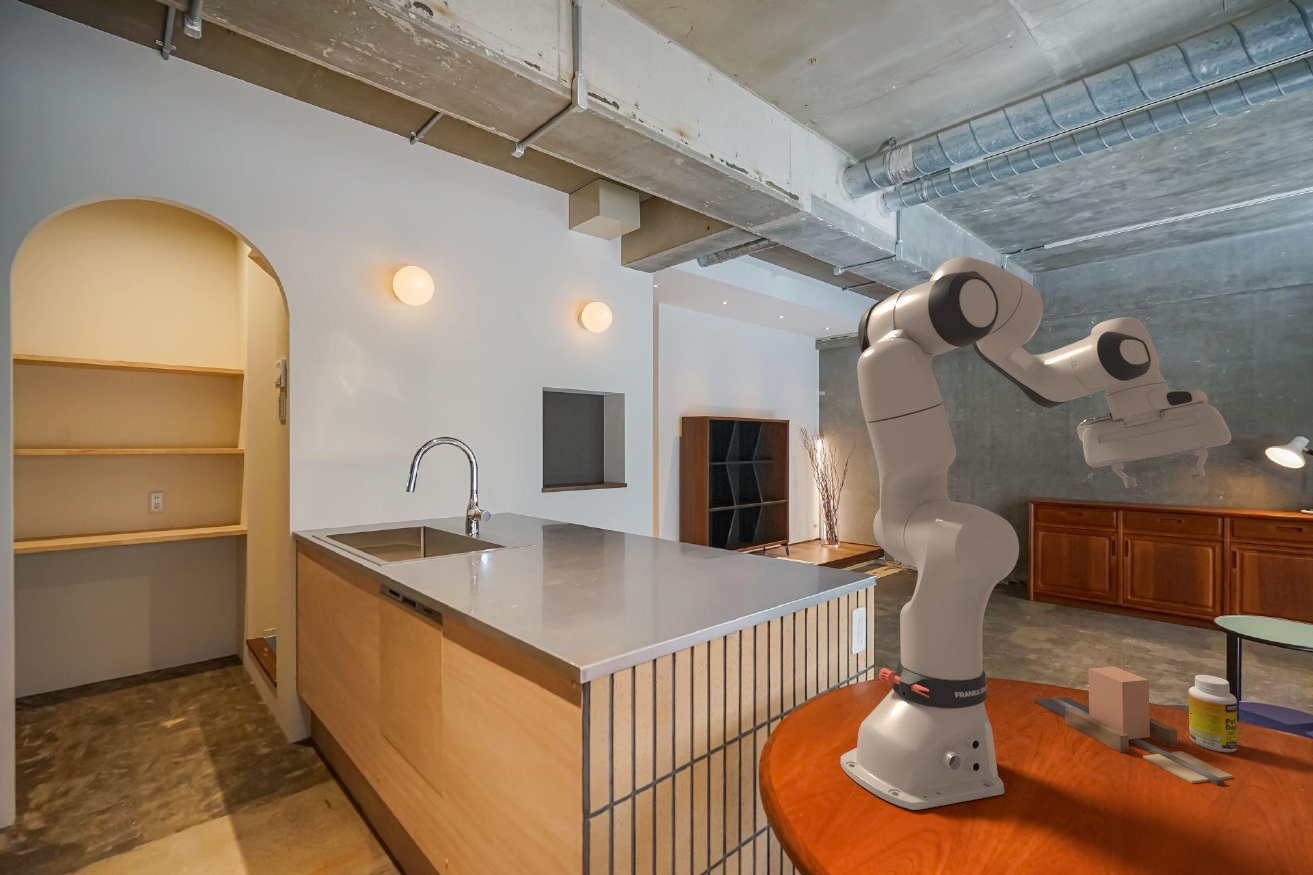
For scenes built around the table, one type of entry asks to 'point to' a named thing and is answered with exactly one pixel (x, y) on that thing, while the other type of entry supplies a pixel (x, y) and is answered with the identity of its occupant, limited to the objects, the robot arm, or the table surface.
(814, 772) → the table surface
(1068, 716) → the track
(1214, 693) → the supplement bottle
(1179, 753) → the mat
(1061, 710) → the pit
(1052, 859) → the table surface
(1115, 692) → the block
